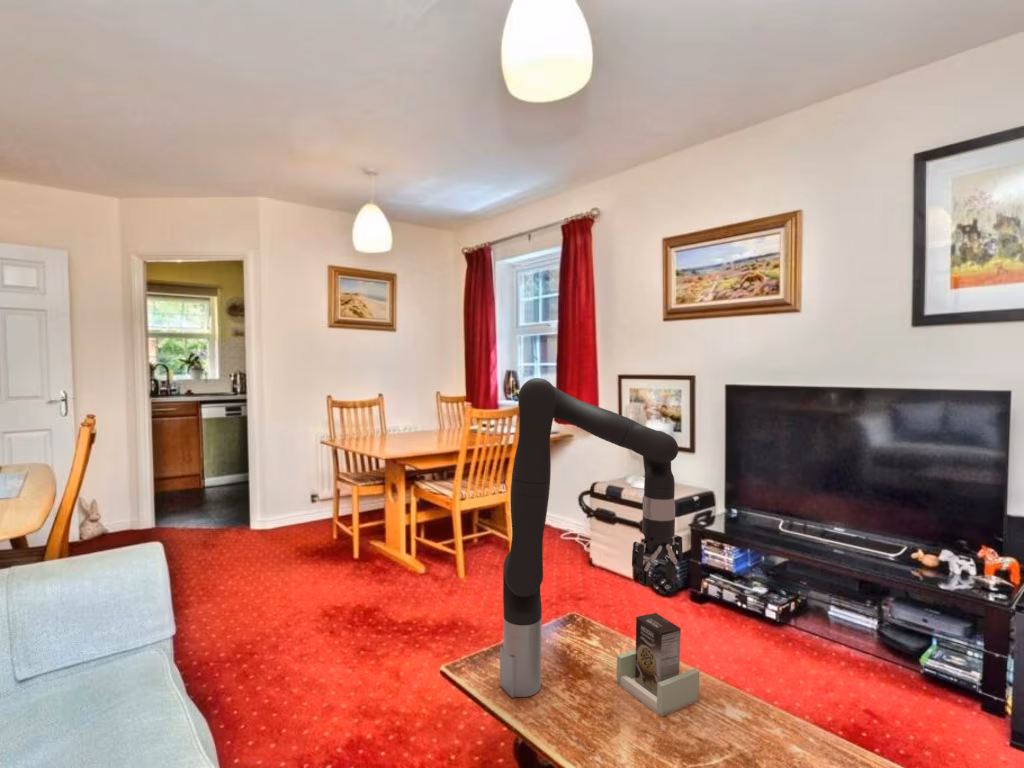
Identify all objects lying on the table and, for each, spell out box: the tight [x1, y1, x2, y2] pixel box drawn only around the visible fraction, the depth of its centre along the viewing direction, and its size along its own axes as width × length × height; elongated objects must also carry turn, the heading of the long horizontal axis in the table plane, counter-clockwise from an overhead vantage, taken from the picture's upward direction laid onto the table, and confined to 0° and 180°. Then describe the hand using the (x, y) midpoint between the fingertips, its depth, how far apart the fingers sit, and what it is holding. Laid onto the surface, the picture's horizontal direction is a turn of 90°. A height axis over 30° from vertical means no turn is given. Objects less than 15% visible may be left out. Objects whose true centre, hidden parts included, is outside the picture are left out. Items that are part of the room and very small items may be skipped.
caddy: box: [616, 648, 700, 718], centre depth 133 cm, size 12×15×7 cm
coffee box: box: [635, 612, 682, 697], centre depth 133 cm, size 9×6×16 cm
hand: (657, 581), depth 133 cm, fingers open, 8 cm apart
